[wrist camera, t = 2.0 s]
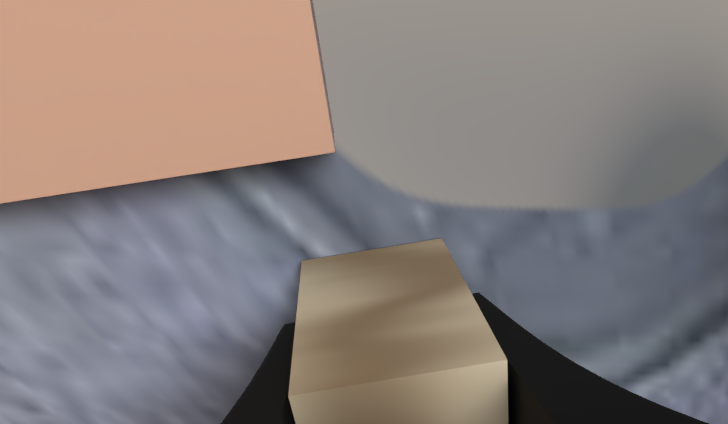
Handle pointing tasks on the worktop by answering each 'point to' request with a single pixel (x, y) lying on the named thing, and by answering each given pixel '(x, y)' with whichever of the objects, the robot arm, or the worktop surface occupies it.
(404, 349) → the beech block
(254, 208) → the worktop surface
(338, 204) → the worktop surface
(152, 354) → the worktop surface
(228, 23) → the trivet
